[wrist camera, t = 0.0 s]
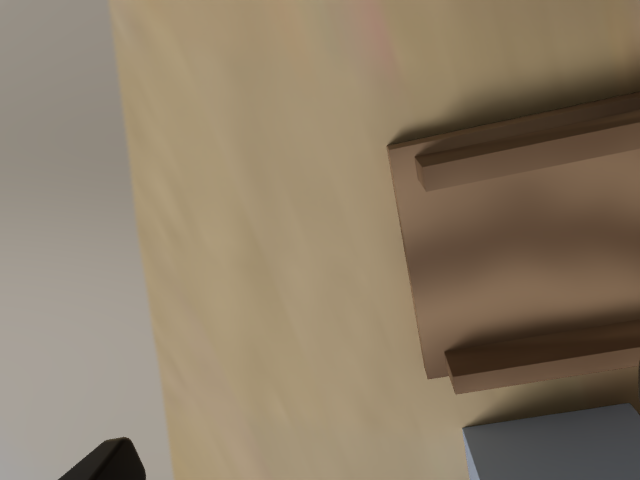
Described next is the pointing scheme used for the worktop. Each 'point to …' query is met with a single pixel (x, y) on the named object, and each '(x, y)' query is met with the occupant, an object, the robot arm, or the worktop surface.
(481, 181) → the walnut rack
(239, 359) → the worktop surface
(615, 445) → the pale blue cuboid
